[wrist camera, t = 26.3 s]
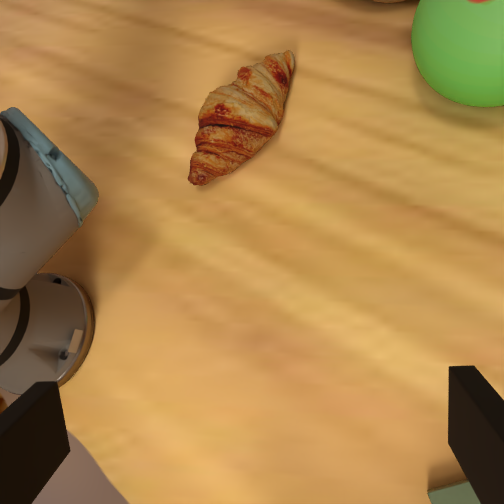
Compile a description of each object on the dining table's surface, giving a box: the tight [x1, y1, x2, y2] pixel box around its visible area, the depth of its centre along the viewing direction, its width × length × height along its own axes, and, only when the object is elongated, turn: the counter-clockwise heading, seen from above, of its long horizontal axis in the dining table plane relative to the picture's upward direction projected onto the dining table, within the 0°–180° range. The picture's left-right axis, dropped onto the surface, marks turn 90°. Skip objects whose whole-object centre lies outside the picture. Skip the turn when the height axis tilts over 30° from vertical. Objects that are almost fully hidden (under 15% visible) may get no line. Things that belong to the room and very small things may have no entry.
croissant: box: [188, 50, 295, 186], centre depth 56 cm, size 21×10×8 cm, turn 144°
